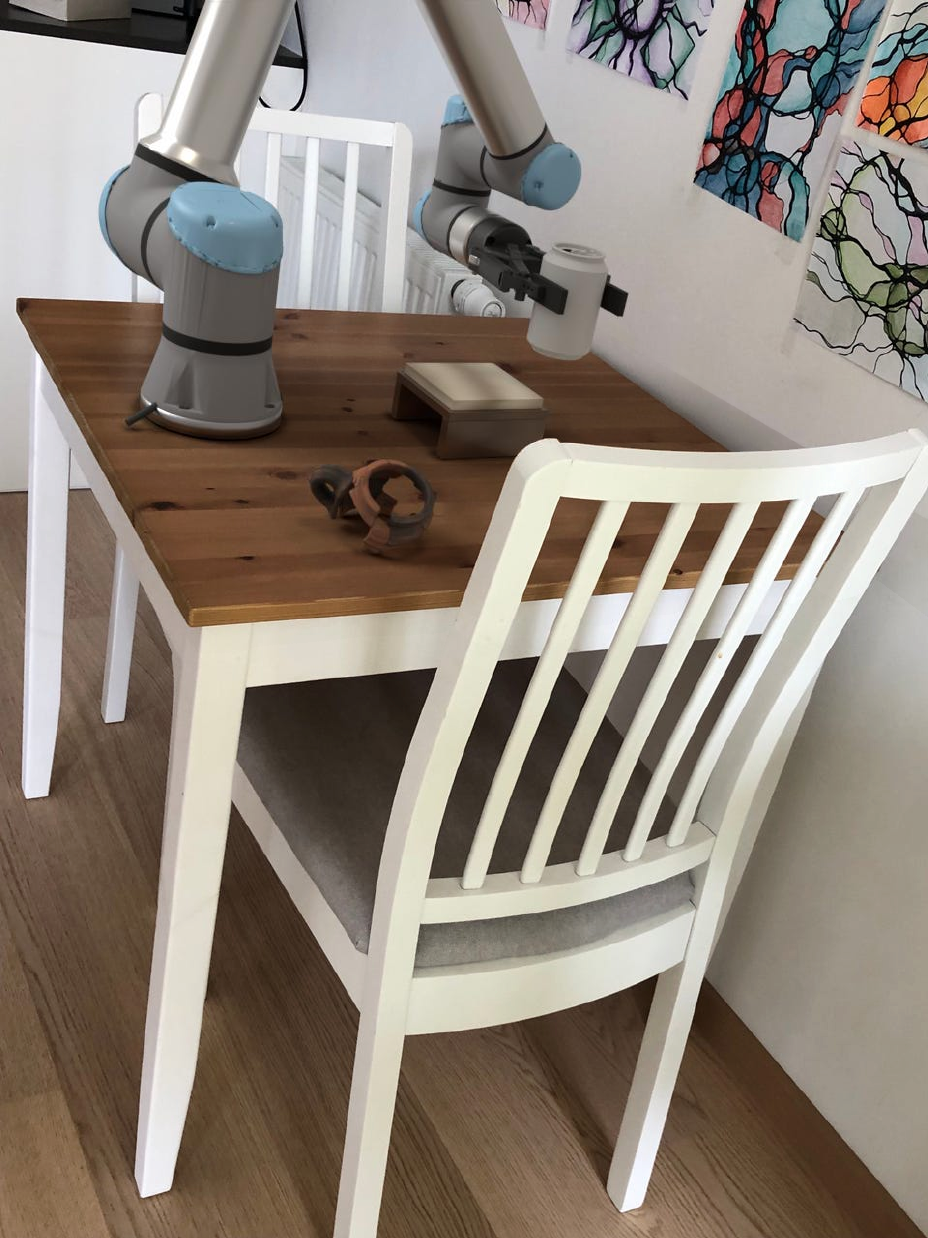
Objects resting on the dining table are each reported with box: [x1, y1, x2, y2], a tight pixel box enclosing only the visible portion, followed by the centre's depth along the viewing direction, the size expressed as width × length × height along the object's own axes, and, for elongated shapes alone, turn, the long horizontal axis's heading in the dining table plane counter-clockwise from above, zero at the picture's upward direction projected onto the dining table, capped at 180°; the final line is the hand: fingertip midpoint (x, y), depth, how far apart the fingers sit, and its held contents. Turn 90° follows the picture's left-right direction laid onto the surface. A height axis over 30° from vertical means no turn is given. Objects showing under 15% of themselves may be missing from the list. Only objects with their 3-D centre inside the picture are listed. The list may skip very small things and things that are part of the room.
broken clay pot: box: [308, 458, 436, 554], centre depth 116 cm, size 12×10×8 cm
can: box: [526, 241, 609, 361], centre depth 141 cm, size 8×8×12 cm
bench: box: [390, 362, 550, 460], centre depth 143 cm, size 13×13×7 cm
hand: (593, 303), depth 137 cm, fingers closed on can, 7 cm apart
